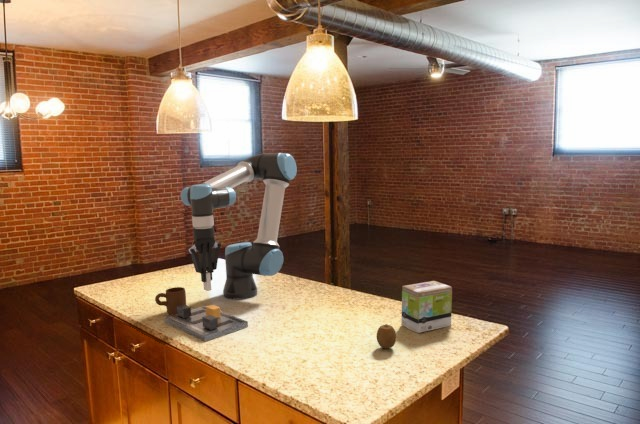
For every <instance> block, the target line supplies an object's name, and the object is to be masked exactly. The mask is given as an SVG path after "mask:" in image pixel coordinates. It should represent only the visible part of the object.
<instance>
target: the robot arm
mask: <svg viewBox="0 0 640 424" xmlns="http://www.w3.org/2000/svg"><path fill="white" fill-rule="evenodd" d="M297 172H298V169H297V163H296V160H295V158H294V156H293V155H291V154H290V153H285V152H284V153H283V152H278V153H275V152H274V153H258V154H256V155H253V156H251V157H248V158H246V159H244V160H243V159H242V161H240V162H238V163H237V164H236V166H234V167H232V168H231V169H228V170H226V171H224V172H222V173H220V174H218V175H216V176H214V177H212V178H210V179H208V180H206V181H204V182H202V183H200V184H192V185H191V186H187V187H184V188H183V189H182V190H181V192H180V200H181V202H182V204H183V205H185V206H188V207H190V208H191V218H192V219H191V220H192V223H191V224H192V227H193V228H192V234H193V235H192V237H193V243H192V246H191V247H188V248H187V252H188V253H189V254H190V258H191V259H192V260H191V261H192V263H193V266H194V269H195V270H194V271H195V272H196V273H199V274H200V279H201V283H203V291H206V292H209V291H212V281H213V273H214V272H215V270H217V268H218V260H219V255H220V250H221V247H222V244H221V243H220V242H217V241H216V238H215V235H216V234H215V227H214V225H215V222H214V219H215V218H214V210H215V209H220V208H227V207H231V206H233V205H234V204H235V202H236V200H237V193H236V191H235V190H234V188H236V187H237V186H239V185H241V184H244V183H249V182H252V181H254V180H256V181H257V180H262V182H263V184H265V187H264V188H265V190H264V195H263V201H262V207H261V214H260V217H259V219H260V221H259V226H258V230H257V231H258V232H257V237H256V239H255V240H254V241H252V242H249V241H248V242H247V241H246V242H238V243H233V244H228V245H227V246H226V247H225V250H224V251H225V252H224V257H225V258H224V261H225V273H226V274H225V275H226V279H225V284H224V285H223V291H222V295H223V297H224V298H226V299H228V300H229V299H231V300H244V299H250V298H252V297H255V296H257V294H258V287H257V284H256V282H255V279H254V275H258V276H263V277H266V276H268V277H272V276H275V275H276V274H277V273H279V272H280V270H281V269H282V267H283V263H284V255H283V252H282V251H281V250H280V245H279V243H278V236H279V229H280V222H281V216H282V210H283V205H284V197H285V193H286V191H285V190H286V188H288V187H289V186H290V182H291V181H292V180H294V179H295V177H296V176H297Z"/></svg>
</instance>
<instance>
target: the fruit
mask: <svg viewBox="0 0 640 424" xmlns="http://www.w3.org/2000/svg"><path fill="white" fill-rule="evenodd" d="M376 342H377V343H378V346H380V348H382V349H384V350H388V349H391V348H393V347H394V346H395V344H396V343H397V333H396V330H395V328H394V327H393V326H392V325H391V324H387V323H386V324H382V325H380V326H379V327H378V329H377V332H376Z"/></svg>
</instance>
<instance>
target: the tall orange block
mask: <svg viewBox="0 0 640 424" xmlns="http://www.w3.org/2000/svg"><path fill="white" fill-rule="evenodd" d="M205 306H206V316H207V315H211V316H214V317H216V318H217V317H221V316H220V311H221V307H219V306H217V305H215V304H211V305H210V304H209V305H205Z"/></svg>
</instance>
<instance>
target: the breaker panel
mask: <svg viewBox="0 0 640 424" xmlns="http://www.w3.org/2000/svg"><path fill="white" fill-rule="evenodd" d="M206 306H207V305H202V306H199V307H197V308H193V309H191V308H192V307H191V306H189V305H187V304H186V305H184V304H183V305H180V306H177V314H174V315H167V316H164V317H163V320H164V323H165V324H167V325H169V326H171V327H173V328H175V329H178V330H180V331H182V332H184V333H186V334H188V335H190V336H192V337H194V338H196V339H199V340H200V341H202V342H204V343H205V342H208V341H211V340H215V339H216V338H219V337H222V336H225V335H228V334H231V333H234V332H237V331H240V330H243V329H246V328H248V327H249V321H247V320H245V319H242V318H240V317H237V316H234V315H231V314H228V313H226V312H224V311H221V310H220V316H221V317H217V318H216V317H214V316H211V315H207V316H206Z"/></svg>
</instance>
